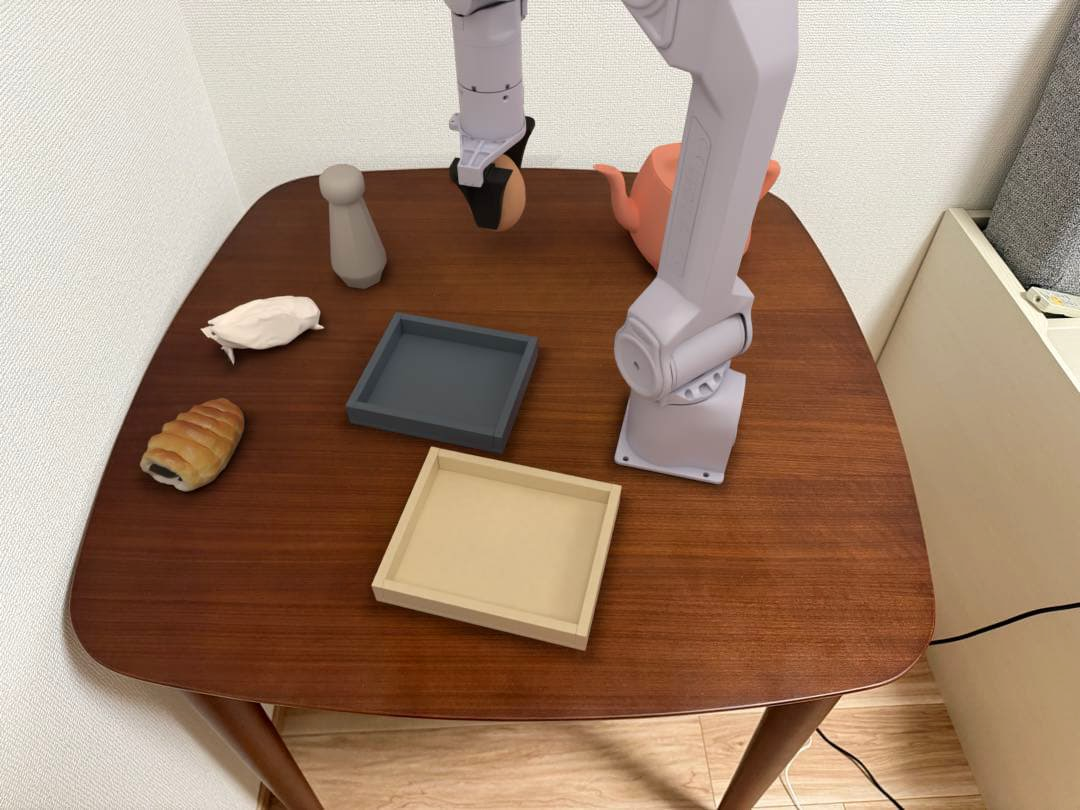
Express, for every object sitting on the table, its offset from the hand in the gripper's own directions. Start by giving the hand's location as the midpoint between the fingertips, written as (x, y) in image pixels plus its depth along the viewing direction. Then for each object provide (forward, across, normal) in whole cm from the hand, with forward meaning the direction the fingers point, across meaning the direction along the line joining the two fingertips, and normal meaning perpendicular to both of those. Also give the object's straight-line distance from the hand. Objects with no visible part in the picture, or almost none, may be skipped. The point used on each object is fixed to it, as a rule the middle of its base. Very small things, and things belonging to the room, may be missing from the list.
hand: (497, 207), depth 81 cm
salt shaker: (+9, +4, -14) cm, 17 cm away
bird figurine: (+9, +15, -19) cm, 26 cm away
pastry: (+9, +30, -19) cm, 37 cm away
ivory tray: (+9, +32, +10) cm, 35 cm away
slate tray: (+9, +17, 0) cm, 19 cm away
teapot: (+9, -9, +18) cm, 22 cm away
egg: (+3, 0, 0) cm, 3 cm away
